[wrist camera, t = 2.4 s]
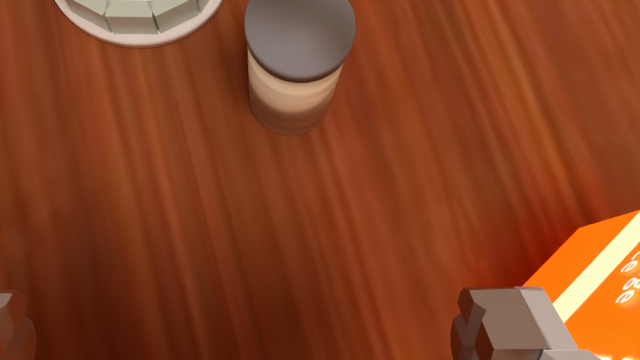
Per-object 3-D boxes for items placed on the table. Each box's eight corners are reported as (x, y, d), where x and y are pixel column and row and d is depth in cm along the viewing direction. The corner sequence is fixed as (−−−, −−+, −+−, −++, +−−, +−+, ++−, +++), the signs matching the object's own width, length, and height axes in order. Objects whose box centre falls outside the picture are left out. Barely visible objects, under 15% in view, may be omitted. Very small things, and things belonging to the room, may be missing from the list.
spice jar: (306, 152, 34) (324, 93, 25) (232, 112, 34) (223, 39, 25) (345, 83, 35) (374, 5, 27) (272, 45, 35) (278, -45, 27)
